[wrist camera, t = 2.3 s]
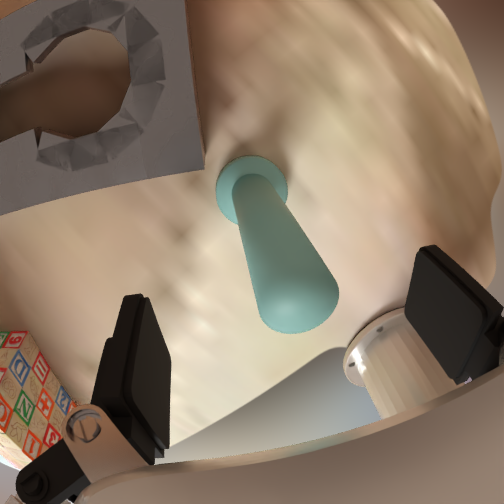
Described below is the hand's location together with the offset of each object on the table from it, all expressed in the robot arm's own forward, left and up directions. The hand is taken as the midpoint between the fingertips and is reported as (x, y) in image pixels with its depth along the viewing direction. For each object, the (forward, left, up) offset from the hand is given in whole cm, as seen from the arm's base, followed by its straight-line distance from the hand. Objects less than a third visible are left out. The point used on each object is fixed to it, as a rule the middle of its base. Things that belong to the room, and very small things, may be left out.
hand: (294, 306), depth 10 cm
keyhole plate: (+15, -9, -15) cm, 23 cm away
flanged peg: (0, +1, -15) cm, 15 cm away
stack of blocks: (+29, +22, -15) cm, 39 cm away
